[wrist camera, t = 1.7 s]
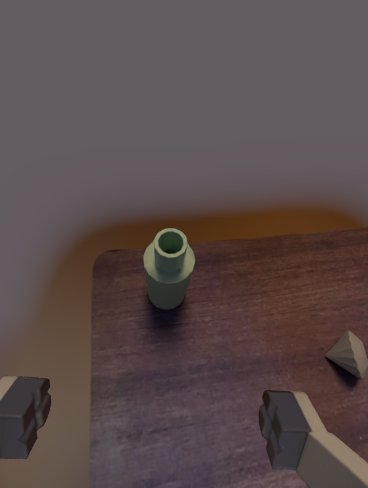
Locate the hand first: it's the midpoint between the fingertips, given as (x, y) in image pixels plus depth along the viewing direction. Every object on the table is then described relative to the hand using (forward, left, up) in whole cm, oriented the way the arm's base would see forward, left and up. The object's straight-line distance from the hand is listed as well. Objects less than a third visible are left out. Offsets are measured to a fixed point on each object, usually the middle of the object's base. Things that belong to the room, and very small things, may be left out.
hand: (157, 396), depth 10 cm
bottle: (+2, +12, -27) cm, 30 cm away
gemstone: (+26, 0, -27) cm, 38 cm away
